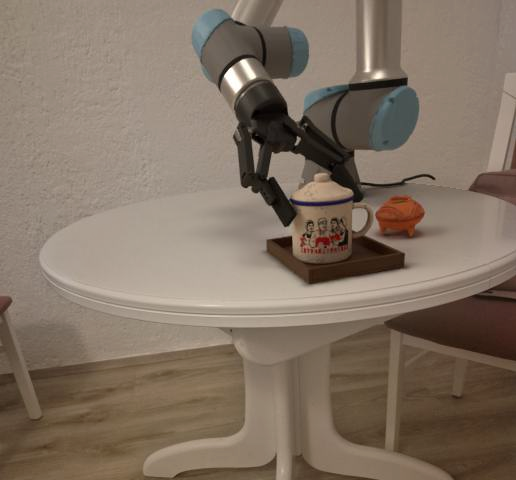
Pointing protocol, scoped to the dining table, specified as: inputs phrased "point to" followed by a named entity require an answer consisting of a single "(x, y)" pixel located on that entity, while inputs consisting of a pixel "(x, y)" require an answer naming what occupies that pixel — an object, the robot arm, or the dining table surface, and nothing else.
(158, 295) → the dining table surface
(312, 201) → the teacup with lid
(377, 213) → the pot
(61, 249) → the dining table surface
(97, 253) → the dining table surface
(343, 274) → the shallow tray
